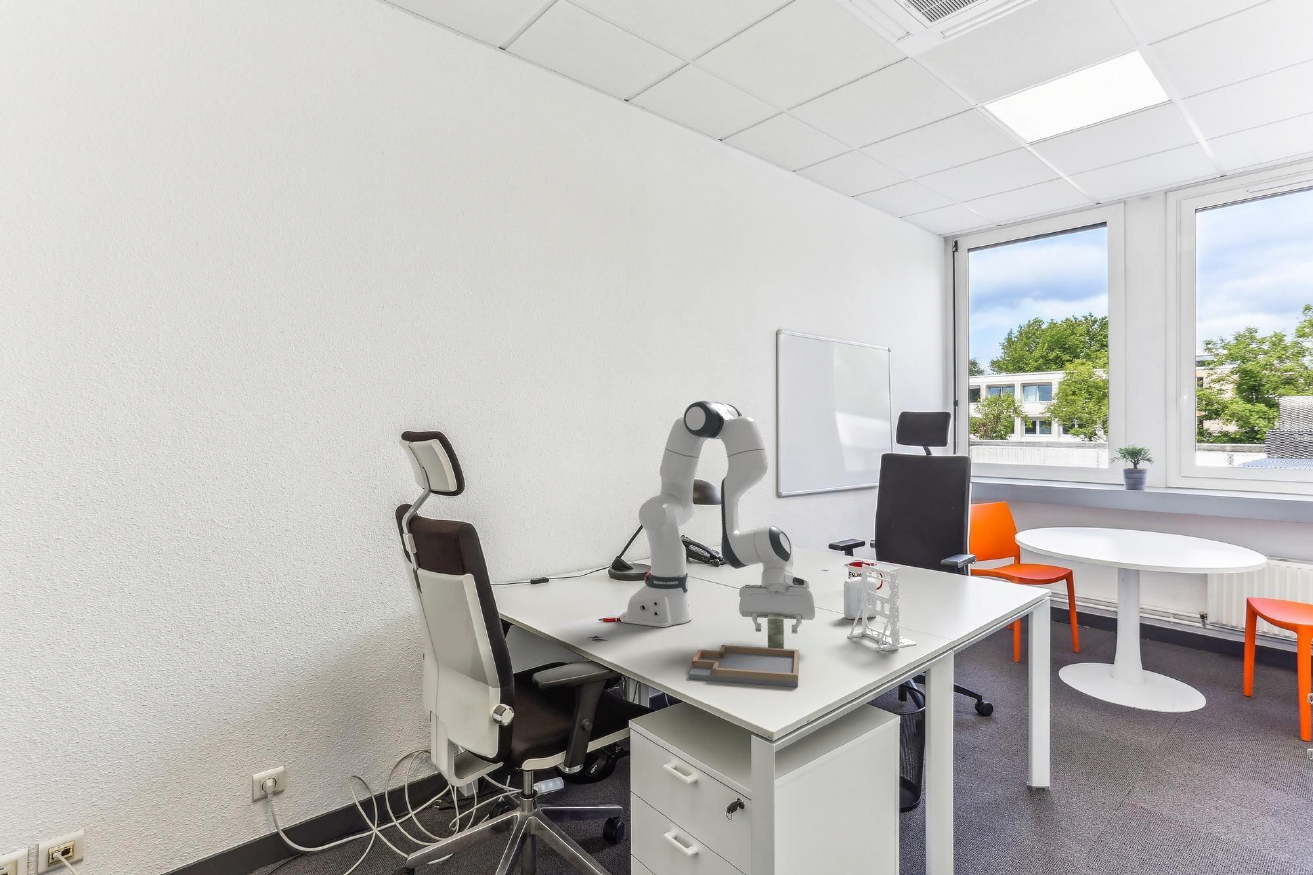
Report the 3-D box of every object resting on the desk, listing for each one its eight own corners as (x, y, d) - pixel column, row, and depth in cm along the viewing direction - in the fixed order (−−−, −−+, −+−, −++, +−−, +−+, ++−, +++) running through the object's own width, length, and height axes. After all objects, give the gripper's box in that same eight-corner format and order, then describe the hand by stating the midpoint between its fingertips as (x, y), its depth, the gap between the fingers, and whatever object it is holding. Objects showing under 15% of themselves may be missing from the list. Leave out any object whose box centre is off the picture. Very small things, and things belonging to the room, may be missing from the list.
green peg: (768, 652, 165) (767, 618, 165) (769, 647, 169) (768, 613, 169) (783, 653, 164) (783, 618, 164) (784, 648, 168) (783, 614, 168)
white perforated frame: (921, 645, 168) (920, 570, 168) (879, 652, 163) (878, 575, 163) (884, 630, 181) (883, 561, 181) (844, 636, 176) (843, 565, 176)
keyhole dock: (689, 678, 148) (688, 667, 148) (701, 654, 164) (700, 643, 164) (797, 686, 142) (797, 674, 142) (799, 660, 158) (798, 649, 158)
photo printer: (871, 613, 198) (870, 574, 198) (879, 617, 194) (878, 577, 194) (841, 616, 195) (841, 576, 195) (849, 620, 191) (848, 579, 191)
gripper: (738, 578, 175) (735, 623, 166) (814, 580, 170) (815, 627, 161) (740, 590, 180) (737, 635, 170) (814, 593, 175) (815, 639, 165)
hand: (776, 631), depth 166 cm, fingers open, 8 cm apart
